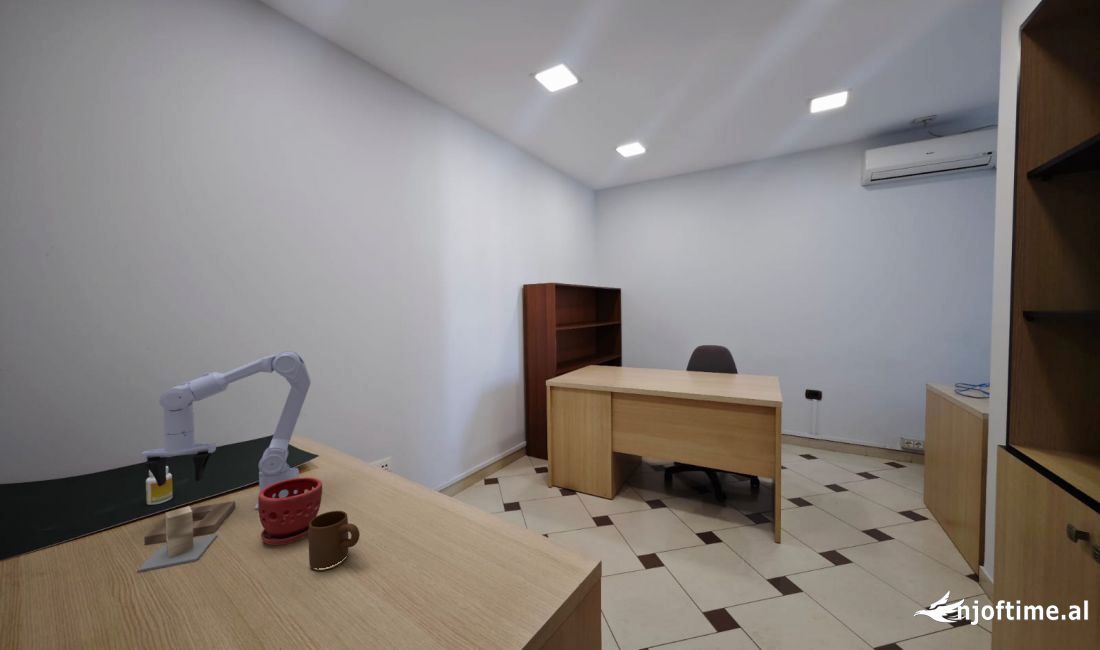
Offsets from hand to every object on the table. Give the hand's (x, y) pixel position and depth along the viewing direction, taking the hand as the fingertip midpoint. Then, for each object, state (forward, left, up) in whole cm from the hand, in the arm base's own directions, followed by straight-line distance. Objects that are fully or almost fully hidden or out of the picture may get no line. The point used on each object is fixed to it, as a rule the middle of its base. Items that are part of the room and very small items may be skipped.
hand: (180, 482), depth 100 cm
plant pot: (-29, +19, -11) cm, 36 cm away
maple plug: (-7, +18, -10) cm, 22 cm away
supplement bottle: (+12, -17, -11) cm, 23 cm away
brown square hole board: (-4, +4, -10) cm, 12 cm away
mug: (-41, +36, -11) cm, 56 cm away
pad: (-7, +18, -10) cm, 22 cm away
